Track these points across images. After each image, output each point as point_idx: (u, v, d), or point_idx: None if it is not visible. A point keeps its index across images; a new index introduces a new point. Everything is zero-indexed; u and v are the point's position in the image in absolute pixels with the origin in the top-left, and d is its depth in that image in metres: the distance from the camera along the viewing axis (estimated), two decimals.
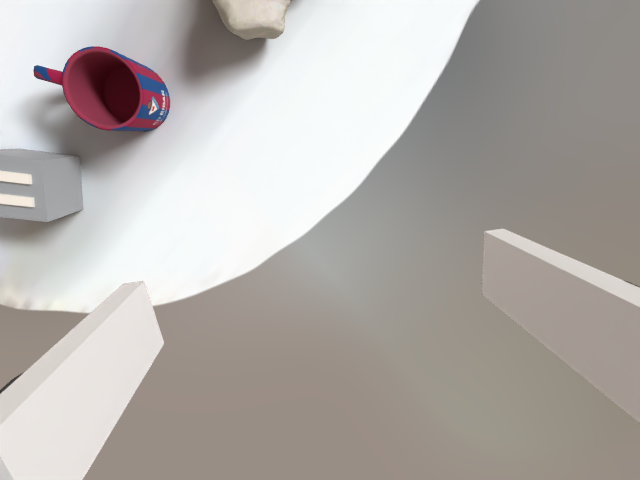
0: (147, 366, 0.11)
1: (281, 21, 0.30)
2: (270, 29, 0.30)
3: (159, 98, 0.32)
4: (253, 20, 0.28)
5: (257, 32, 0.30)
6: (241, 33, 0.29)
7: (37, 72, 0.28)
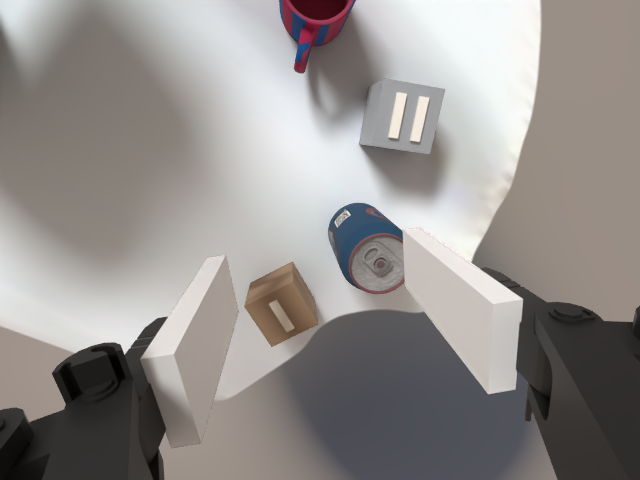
0: (232, 328, 0.13)
1: None
2: None
3: None
4: None
5: None
6: None
7: (302, 55, 0.29)
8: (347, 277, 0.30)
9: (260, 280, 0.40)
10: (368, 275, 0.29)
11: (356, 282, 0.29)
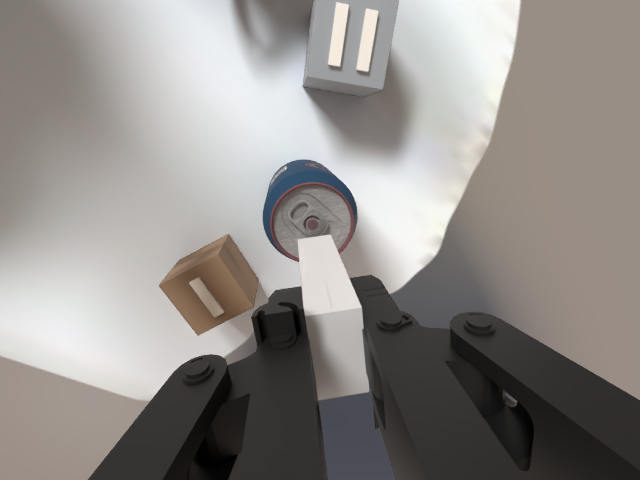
0: None
1: None
2: None
3: None
4: None
5: None
6: None
7: None
8: (273, 243, 0.24)
9: (189, 256, 0.33)
10: None
11: (281, 248, 0.23)
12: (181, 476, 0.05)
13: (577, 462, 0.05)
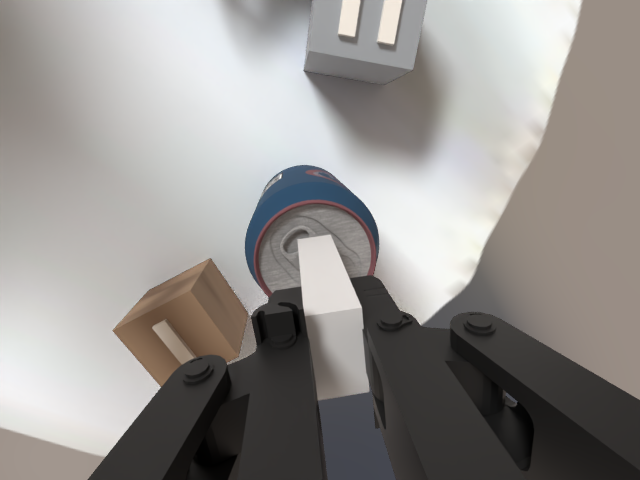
0: None
1: None
2: None
3: None
4: None
5: None
6: None
7: None
8: (260, 285, 0.17)
9: (160, 286, 0.26)
10: (294, 282, 0.16)
11: (271, 294, 0.16)
12: (181, 476, 0.05)
13: (577, 462, 0.05)
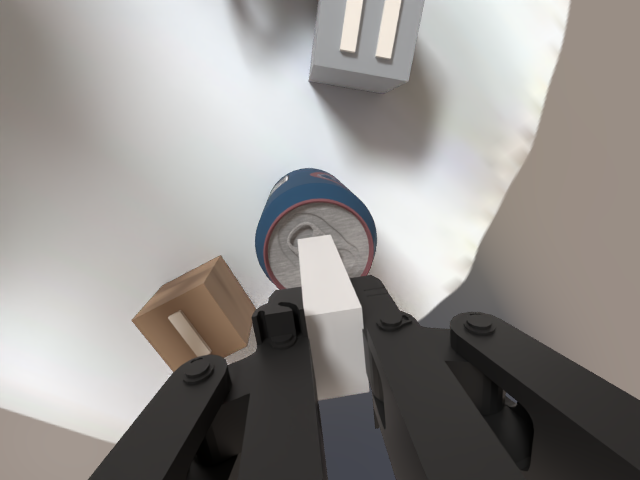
0: None
1: None
2: None
3: None
4: None
5: None
6: None
7: None
8: (268, 276, 0.18)
9: (173, 281, 0.28)
10: None
11: (279, 284, 0.17)
12: (181, 476, 0.05)
13: (577, 462, 0.05)
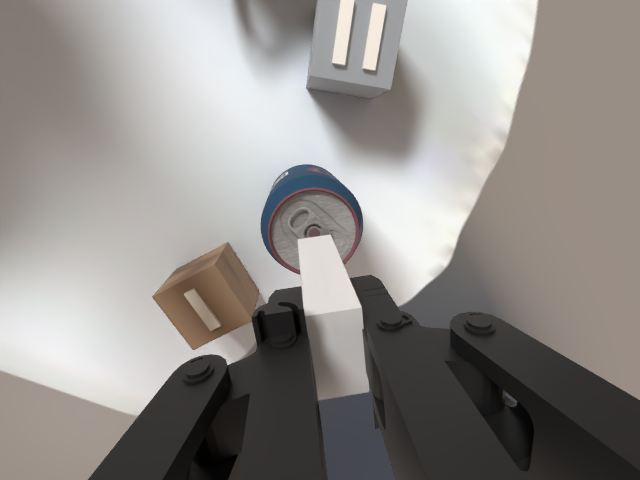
0: None
1: None
2: None
3: None
4: None
5: None
6: None
7: None
8: (272, 253, 0.22)
9: (186, 265, 0.32)
10: None
11: (280, 259, 0.21)
12: (181, 476, 0.05)
13: (577, 462, 0.05)
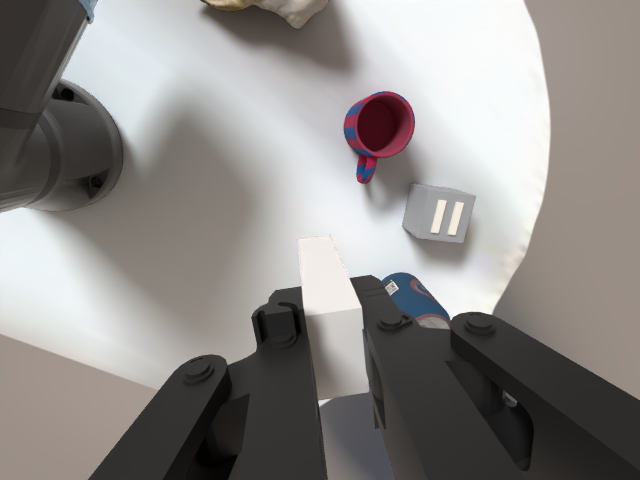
0: None
1: None
2: None
3: None
4: None
5: None
6: None
7: (368, 176, 0.37)
8: None
9: None
10: None
11: None
12: (181, 476, 0.05)
13: (577, 462, 0.05)
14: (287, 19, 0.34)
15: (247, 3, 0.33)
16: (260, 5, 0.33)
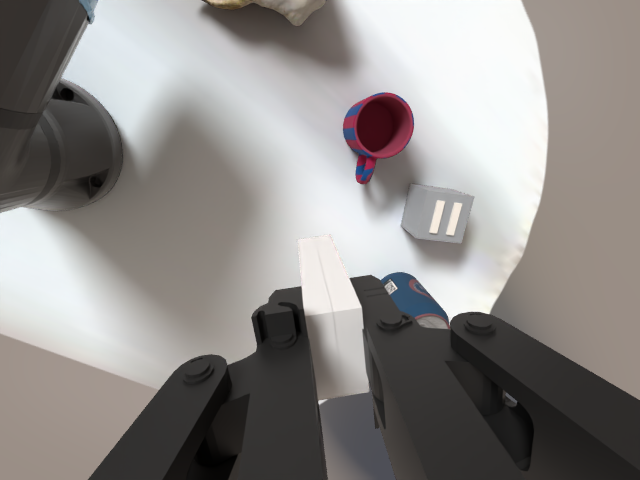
0: None
1: None
2: None
3: None
4: None
5: None
6: None
7: (367, 177, 0.37)
8: None
9: None
10: None
11: None
12: (181, 476, 0.05)
13: (577, 462, 0.05)
14: (287, 17, 0.34)
15: (247, 1, 0.33)
16: (260, 3, 0.33)
